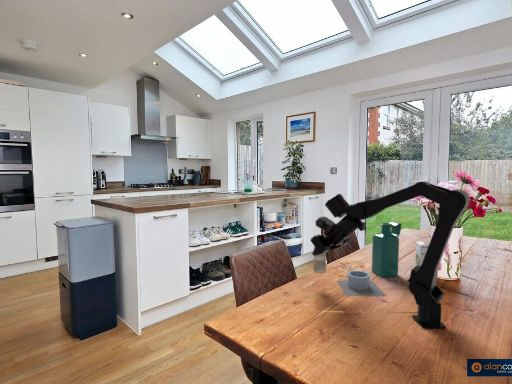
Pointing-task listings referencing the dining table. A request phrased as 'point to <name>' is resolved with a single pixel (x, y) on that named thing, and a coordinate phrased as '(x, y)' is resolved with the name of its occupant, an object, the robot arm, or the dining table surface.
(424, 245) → the syrup box
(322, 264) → the stopper
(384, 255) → the green bottle
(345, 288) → the mat
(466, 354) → the dining table surface
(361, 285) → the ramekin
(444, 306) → the dining table surface
